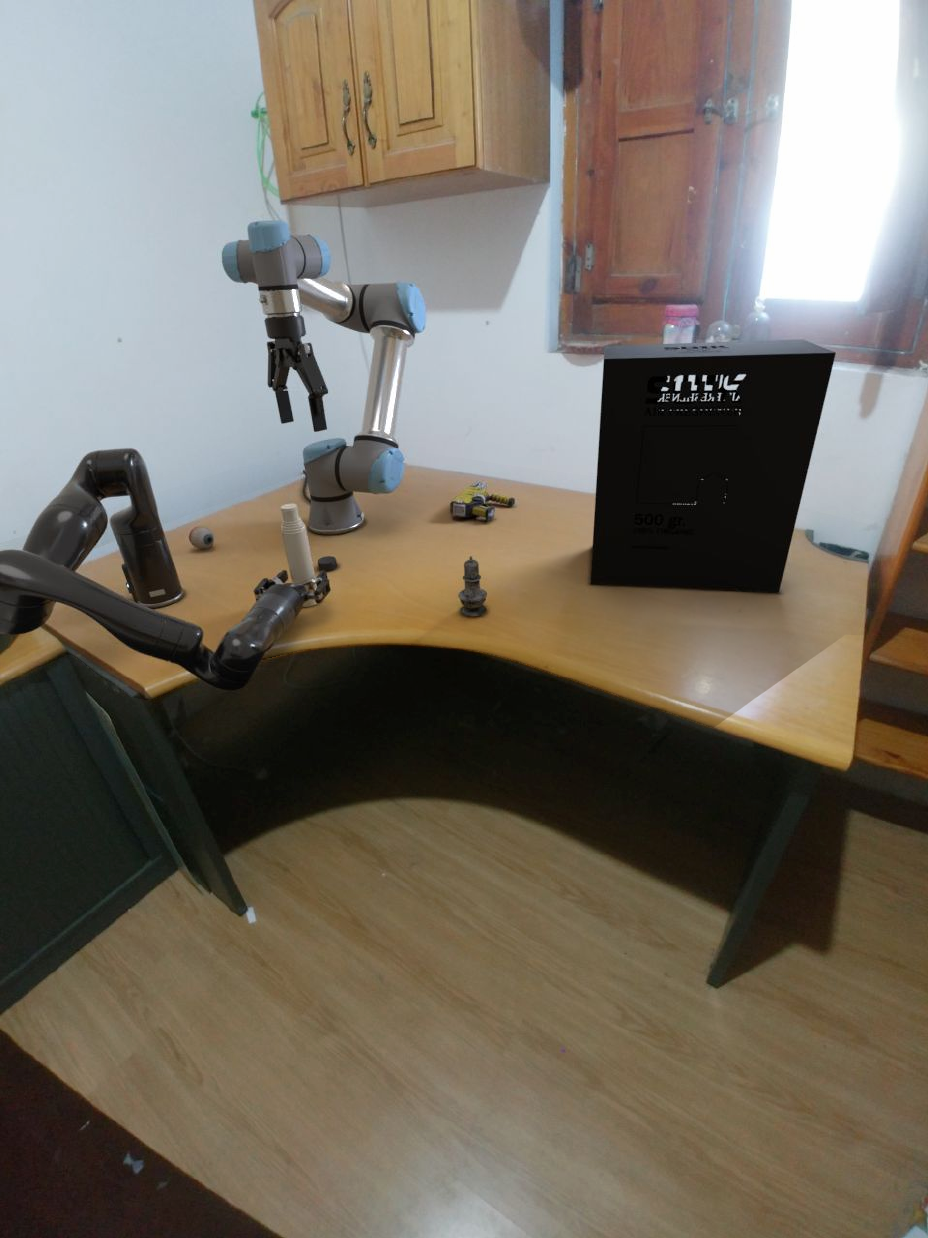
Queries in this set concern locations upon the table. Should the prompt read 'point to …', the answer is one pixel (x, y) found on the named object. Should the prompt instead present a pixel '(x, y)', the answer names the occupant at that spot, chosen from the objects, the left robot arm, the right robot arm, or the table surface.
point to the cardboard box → (704, 462)
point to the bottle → (297, 548)
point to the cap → (327, 563)
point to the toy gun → (477, 502)
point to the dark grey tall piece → (472, 590)
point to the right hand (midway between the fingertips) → (303, 426)
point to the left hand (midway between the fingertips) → (305, 574)
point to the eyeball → (201, 537)
